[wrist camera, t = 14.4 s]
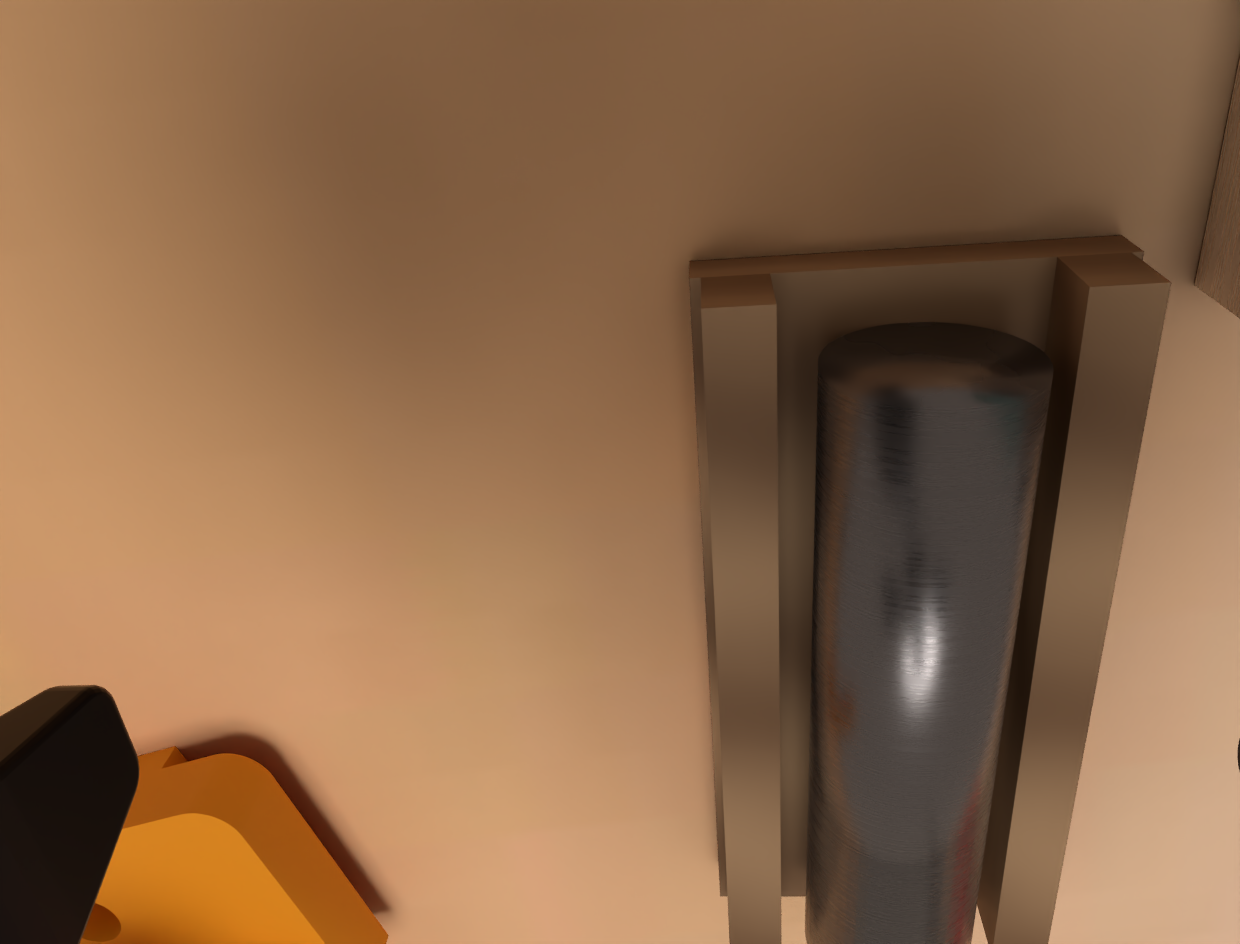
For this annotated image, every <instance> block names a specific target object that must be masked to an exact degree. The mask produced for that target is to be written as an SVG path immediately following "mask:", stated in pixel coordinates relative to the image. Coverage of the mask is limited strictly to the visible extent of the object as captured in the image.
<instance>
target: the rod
mask: <svg viewBox="0 0 1240 944" xmlns="http://www.w3.org/2000/svg"><path fill="white" fill-rule="evenodd" d="M1053 372H1054V369H1053V364H1052V362H1051V360H1050V358H1049V357H1048V356H1047V355H1046V353H1044V352H1043V351H1042V350H1041V349H1039V348H1038V347H1036V346H1035V345H1033V344H1031V343H1030V342H1027V341H1025V340H1023V339H1021V338H1018V337H1016V336H1013V335H1010V334H1007V333H1004V332H1000V331H997V330H992V329H988V328H983V327H978V326H972V325H965V324H956V323H944V322H915V323H895V324H887V325H880V326H874V327H870V328H865V329H861V330H858V331H854V332H851V333H849V334H846V335H844V336H841V337H839V338H837V339H835V340H834V341H832V342H831V343H829V344H828V345H827V346H826V347H825V348H824V349H823V350H822V351H821V353H820V355H819V358H818V389H817V432H816V476H815V519H814V562H813V606H812V649H811V692H810V736H809V779H808V822H807V866H806V909H805V935H806V941H807V944H971V941H972V934H973V927H974V920H975V913H976V906H977V899H978V892H979V885H980V878H981V871H982V864H983V857H984V851H985V844H986V837H987V830H988V823H989V816H990V809H991V802H992V795H993V788H994V781H995V774H996V767H997V760H998V753H999V747H1000V740H1001V733H1002V726H1003V719H1004V712H1005V705H1006V698H1007V691H1008V684H1009V677H1010V670H1011V663H1012V656H1013V649H1014V642H1015V636H1016V629H1017V622H1018V615H1019V608H1020V601H1021V594H1022V587H1023V580H1024V573H1025V566H1026V559H1027V552H1028V545H1029V538H1030V532H1031V525H1032V518H1033V511H1034V504H1035V497H1036V490H1037V483H1038V476H1039V469H1040V462H1041V455H1042V448H1043V441H1044V434H1045V428H1046V421H1047V414H1048V407H1049V400H1050V393H1051V386H1052V379H1053Z"/></svg>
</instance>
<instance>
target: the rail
mask: <svg viewBox="0 0 1240 944" xmlns="http://www.w3.org/2000/svg"><path fill="white" fill-rule="evenodd" d="M1143 255H1144V251H1142V250H1141V249H1140V248H1138V247H1137V246H1136V245H1134V244H1133V243H1132V242H1130V241H1129V240H1128V239H1126V238H1125V237H1124V236H1122V235H1118V236H1101V237H1085V238H1068V239H1052V240H1035V241H1018V242H1002V243H985V244H968V245H952V246H935V247H918V248H902V249H885V250H868V251H852V252H835V253H818V254H802V255H785V256H769V257H752V258H735V259H719V260H702V261H690V263H689V284H690V304H691V324H692V344H693V364H694V384H695V404H696V423H697V443H698V463H699V483H700V503H701V523H702V543H703V563H704V582H705V602H706V622H707V642H708V662H709V682H710V702H711V721H712V741H713V761H714V781H715V801H716V821H717V841H718V861H719V880H720V896H728V916H729V938H730V944H781V896H806V866H807V822H808V779H809V736H810V692H811V649H812V606H813V562H814V519H815V476H816V432H817V389H818V358H819V355H820V353H821V351H822V350H823V349H824V348H825V347H826V346H827V345H828V344H829V343H831V342H832V341H834V340H835V339H837V338H839V337H841V336H844V335H846V334H849V333H851V332H854V331H858V330H861V329H865V328H870V327H874V326H880V325H887V324H895V323H915V322H944V323H956V324H965V325H972V326H978V327H983V328H988V329H992V330H997V331H1000V332H1004V333H1007V334H1010V335H1013V336H1016V337H1018V338H1021V339H1023V340H1025V341H1027V342H1030V343H1031V344H1033V345H1035V346H1036V347H1038V348H1039V349H1041V350H1042V351H1043V352H1044V353H1046V355H1047V356H1048V357H1049V358H1050V360H1051V362H1052V364H1053V369H1054V372H1053V379H1052V386H1051V393H1050V400H1049V407H1048V414H1047V421H1046V428H1045V434H1044V441H1043V448H1042V455H1041V462H1040V469H1039V476H1038V483H1037V490H1036V497H1035V504H1034V511H1033V518H1032V525H1031V532H1030V538H1029V545H1028V552H1027V559H1026V566H1025V573H1024V580H1023V587H1022V594H1021V601H1020V608H1019V615H1018V622H1017V629H1016V636H1015V642H1014V649H1013V656H1012V663H1011V670H1010V677H1009V684H1008V691H1007V698H1006V705H1005V712H1004V719H1003V726H1002V733H1001V740H1000V747H999V753H998V760H997V767H996V774H995V781H994V788H993V795H992V802H991V809H990V816H989V823H988V830H987V837H986V844H985V851H984V857H983V864H982V871H981V878H980V885H979V892H978V899H977V906H978V909H979V913H980V916H981V920H982V923H983V927H984V930H985V934H986V937H987V941H988V944H1048V941H1049V935H1050V930H1051V925H1052V919H1053V914H1054V909H1055V903H1056V898H1057V893H1058V887H1059V882H1060V876H1061V871H1062V866H1063V860H1064V855H1065V850H1066V844H1067V839H1068V834H1069V828H1070V823H1071V817H1072V812H1073V807H1074V801H1075V796H1076V791H1077V785H1078V780H1079V774H1080V769H1081V764H1082V758H1083V753H1084V748H1085V742H1086V737H1087V732H1088V726H1089V721H1090V715H1091V710H1092V705H1093V699H1094V694H1095V689H1096V683H1097V678H1098V673H1099V667H1100V662H1101V656H1102V651H1103V646H1104V640H1105V635H1106V630H1107V624H1108V619H1109V613H1110V608H1111V603H1112V597H1113V592H1114V587H1115V581H1116V576H1117V571H1118V565H1119V560H1120V554H1121V549H1122V544H1123V538H1124V533H1125V528H1126V522H1127V517H1128V511H1129V506H1130V501H1131V495H1132V490H1133V485H1134V479H1135V474H1136V469H1137V463H1138V458H1139V452H1140V447H1141V442H1142V436H1143V431H1144V426H1145V420H1146V415H1147V410H1148V404H1149V399H1150V393H1151V388H1152V383H1153V377H1154V372H1155V367H1156V361H1157V356H1158V350H1159V345H1160V340H1161V334H1162V329H1163V324H1164V318H1165V313H1166V308H1167V302H1168V297H1169V291H1170V286H1171V282H1170V281H1169V280H1167V279H1166V278H1165V277H1163V276H1162V275H1161V274H1159V273H1158V272H1157V271H1155V270H1154V269H1153V268H1151V267H1150V266H1149V265H1148V264H1146V263H1145V262H1144V261H1143Z"/></svg>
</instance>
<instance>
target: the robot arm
mask: <svg viewBox="0 0 1240 944" xmlns="http://www.w3.org/2000/svg"><path fill="white" fill-rule="evenodd" d="M1238 766H1239V770H1240V740H1239V745H1238ZM138 781H139V761H138V757H137V754H136V751H135V749H134V746H133V744H132V742H131V739H130V737H129V734H128V732H127V730H126V727H125V725H124V722H123V720H122V718H121V715H120V713H119V710H118V708H117V706H116V703H115V701H114V699H113V697H112V695H111V694H110V693H109V692H108V691H107V690H106V689H105V688H103V687H100V686H96V685H76V686H56V687H52V688H49V689H47V690H45V691H43V692H41V693H39V694H38V695H36V696H34V697H33V698H31V699H29V700H27V701H26V702H24V703H22V704H21V705H19V706H17V707H15V708H14V709H12V710H10V711H9V712H7V713H5V714H3V715H2V716H0V944H80V941H81V939H82V936H83V934H84V931H85V928H86V926H87V923H88V920H89V918H90V915H91V912H92V909H93V907H94V904H95V901H96V899H97V896H98V893H99V890H100V888H101V885H102V882H103V880H104V877H105V874H106V871H107V869H108V866H109V863H110V861H111V858H112V855H113V852H114V850H115V847H116V844H117V842H118V839H119V836H120V834H121V831H122V828H123V825H124V823H125V820H126V817H127V815H128V812H129V809H130V806H131V804H132V801H133V798H134V796H135V793H136V790H137V786H138Z"/></svg>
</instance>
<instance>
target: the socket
mask: <svg viewBox="0 0 1240 944" xmlns="http://www.w3.org/2000/svg"><path fill="white" fill-rule="evenodd" d="M1195 286H1196V287H1197V288H1199V289H1200V290H1201V291H1203V292H1204V293H1206V294H1207V295H1208V296H1210V297H1211V298H1212V299H1214V300H1215V301H1216V302H1218V303H1219V304H1221V305H1222V306H1223V307H1225V308H1226V309H1227V310H1229V311H1230V312H1232V313H1233V314H1234V315H1236V316H1237V317H1238V318H1240V59H1239V64H1238V69H1237V74H1236V79H1235V84H1234V89H1233V94H1232V99H1231V104H1230V109H1229V114H1228V119H1227V124H1226V129H1225V134H1224V139H1223V144H1222V149H1221V155H1220V160H1219V165H1218V170H1217V175H1216V180H1215V185H1214V190H1213V195H1212V200H1211V205H1210V210H1209V215H1208V220H1207V225H1206V230H1205V235H1204V240H1203V245H1202V250H1201V255H1200V261H1199V266H1198V271H1197V276H1196V281H1195Z"/></svg>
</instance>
